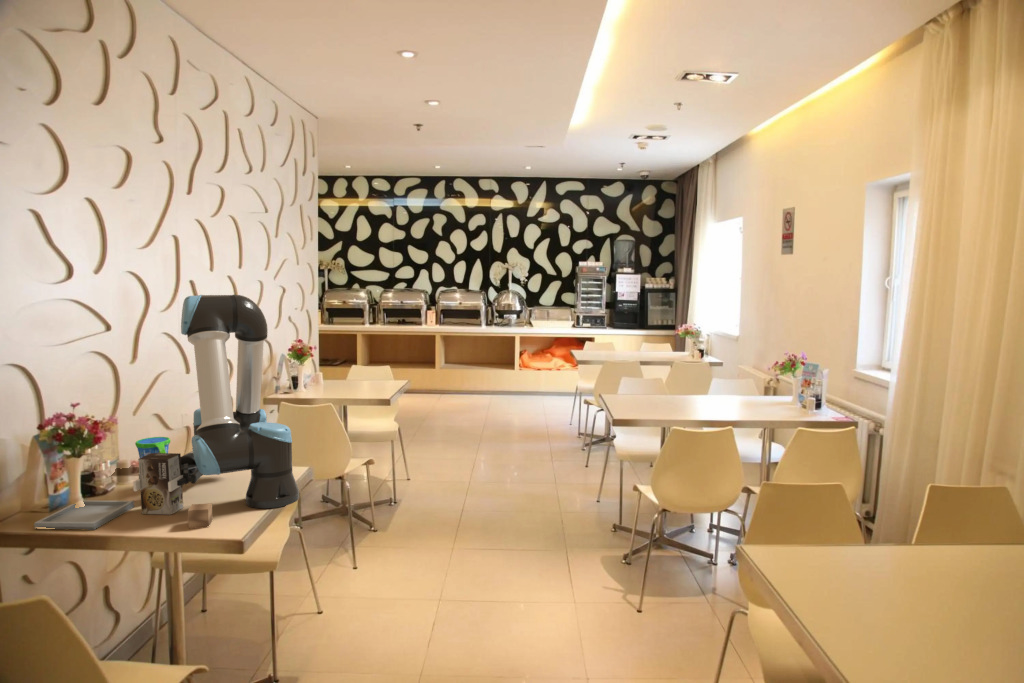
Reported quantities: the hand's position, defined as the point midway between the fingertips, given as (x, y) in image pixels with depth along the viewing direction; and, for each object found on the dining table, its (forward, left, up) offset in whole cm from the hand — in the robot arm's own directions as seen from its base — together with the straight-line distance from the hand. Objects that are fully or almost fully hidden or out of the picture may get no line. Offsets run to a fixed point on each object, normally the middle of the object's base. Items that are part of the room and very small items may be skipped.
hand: (152, 486), depth 186 cm
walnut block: (-16, +5, -9) cm, 19 cm away
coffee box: (0, -5, -9) cm, 10 cm away
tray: (+18, +1, -9) cm, 20 cm away
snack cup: (+26, -47, -9) cm, 54 cm away
